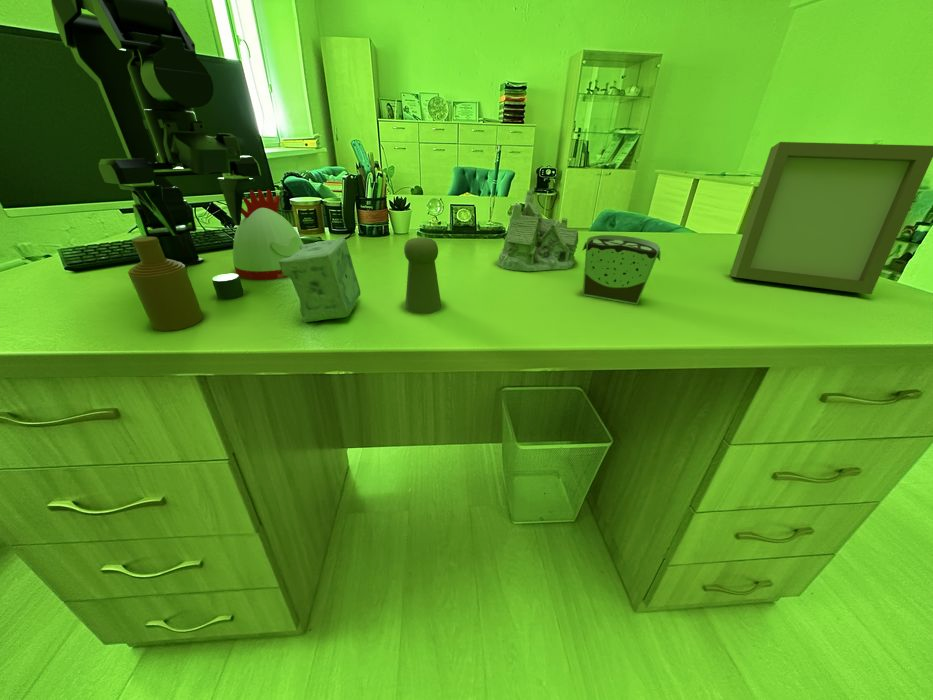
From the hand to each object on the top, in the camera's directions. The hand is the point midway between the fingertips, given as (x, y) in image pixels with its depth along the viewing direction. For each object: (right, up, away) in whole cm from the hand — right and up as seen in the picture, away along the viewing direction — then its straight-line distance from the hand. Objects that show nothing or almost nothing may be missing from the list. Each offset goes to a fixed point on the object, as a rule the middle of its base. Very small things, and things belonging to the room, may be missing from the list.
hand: (208, 229), depth 58 cm
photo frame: (+108, -4, +20) cm, 110 cm away
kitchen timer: (+1, -2, +18) cm, 19 cm away
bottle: (-2, -15, -4) cm, 15 cm away
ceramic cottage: (+56, +1, +26) cm, 62 cm away
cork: (+33, -12, +3) cm, 36 cm away
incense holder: (+19, -13, +1) cm, 23 cm away
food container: (+67, -9, +10) cm, 69 cm away
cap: (0, -9, +6) cm, 11 cm away
